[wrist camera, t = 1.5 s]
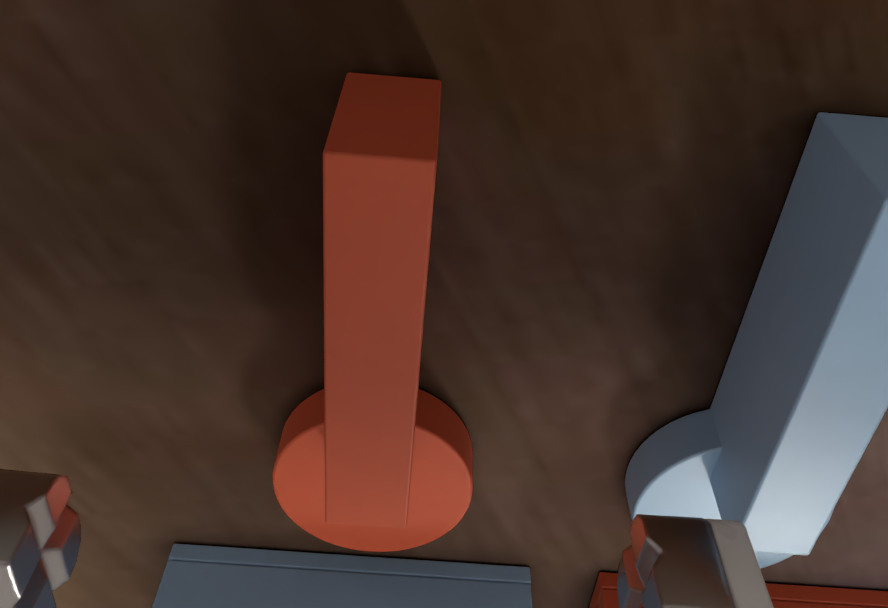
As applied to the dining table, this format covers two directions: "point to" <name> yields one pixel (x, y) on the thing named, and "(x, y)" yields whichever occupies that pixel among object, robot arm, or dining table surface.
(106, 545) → the dining table surface
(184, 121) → the dining table surface
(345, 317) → the red spoon
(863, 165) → the blue spoon
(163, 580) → the blue bin
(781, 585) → the red bin
